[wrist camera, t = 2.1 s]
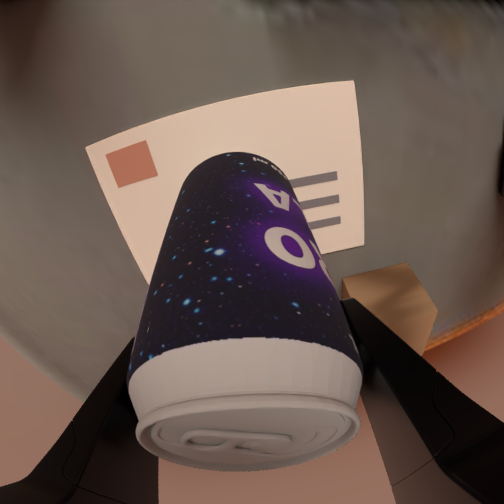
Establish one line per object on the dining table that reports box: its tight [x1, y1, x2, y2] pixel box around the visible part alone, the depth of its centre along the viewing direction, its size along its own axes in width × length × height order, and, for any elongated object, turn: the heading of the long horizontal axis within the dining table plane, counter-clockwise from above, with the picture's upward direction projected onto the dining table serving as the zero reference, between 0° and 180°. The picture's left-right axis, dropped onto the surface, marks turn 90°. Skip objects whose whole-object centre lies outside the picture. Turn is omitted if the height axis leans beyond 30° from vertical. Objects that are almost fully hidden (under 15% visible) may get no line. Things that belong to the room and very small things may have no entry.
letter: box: [85, 81, 364, 284], centre depth 16 cm, size 14×10×1 cm
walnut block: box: [342, 262, 438, 356], centre depth 19 cm, size 5×5×5 cm
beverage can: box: [126, 152, 363, 471], centre depth 10 cm, size 6×6×12 cm
